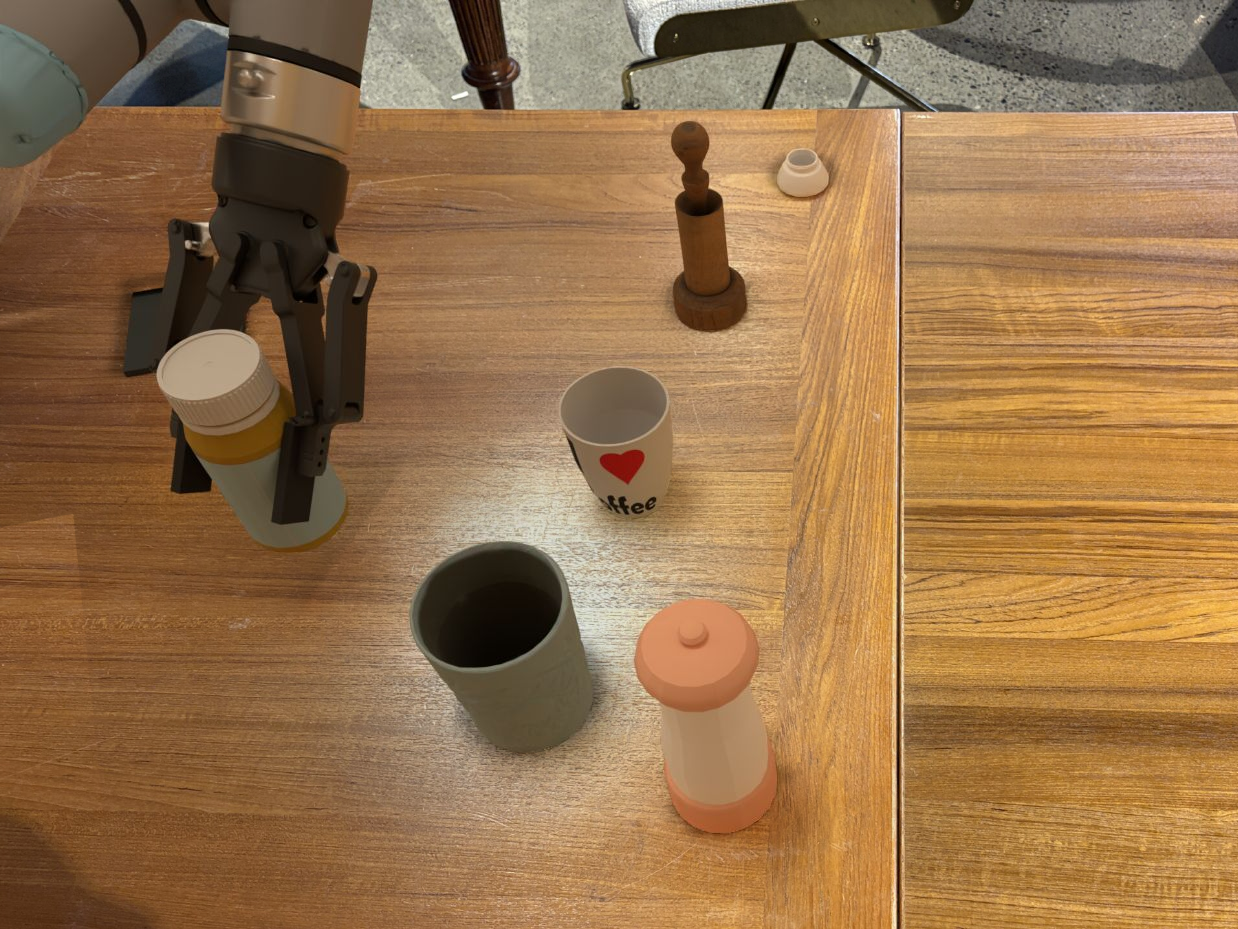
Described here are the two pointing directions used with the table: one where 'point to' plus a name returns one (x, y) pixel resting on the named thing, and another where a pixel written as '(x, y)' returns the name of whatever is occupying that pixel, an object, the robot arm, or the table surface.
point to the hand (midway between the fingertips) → (240, 505)
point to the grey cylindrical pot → (506, 643)
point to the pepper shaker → (708, 713)
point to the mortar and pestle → (703, 242)
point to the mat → (143, 330)
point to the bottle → (245, 434)
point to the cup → (620, 437)
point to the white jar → (802, 174)
